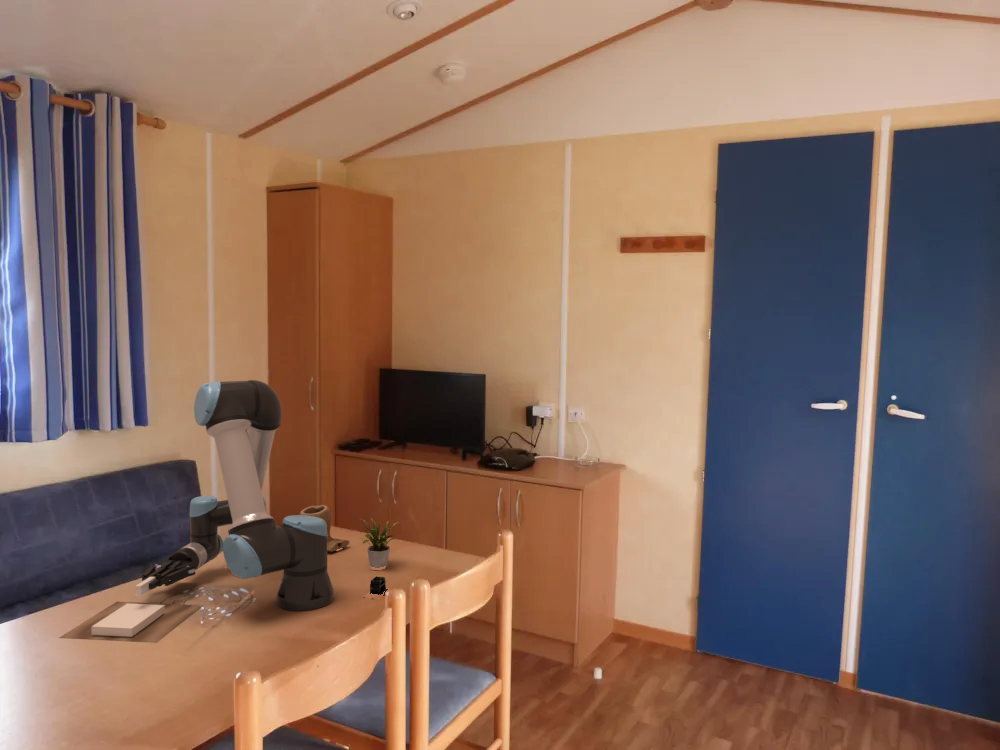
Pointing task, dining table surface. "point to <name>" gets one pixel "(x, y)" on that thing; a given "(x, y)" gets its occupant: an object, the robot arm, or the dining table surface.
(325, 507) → the tan ankle boot
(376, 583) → the black small block
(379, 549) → the house plant
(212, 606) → the dining table surface
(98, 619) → the board
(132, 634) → the tile
